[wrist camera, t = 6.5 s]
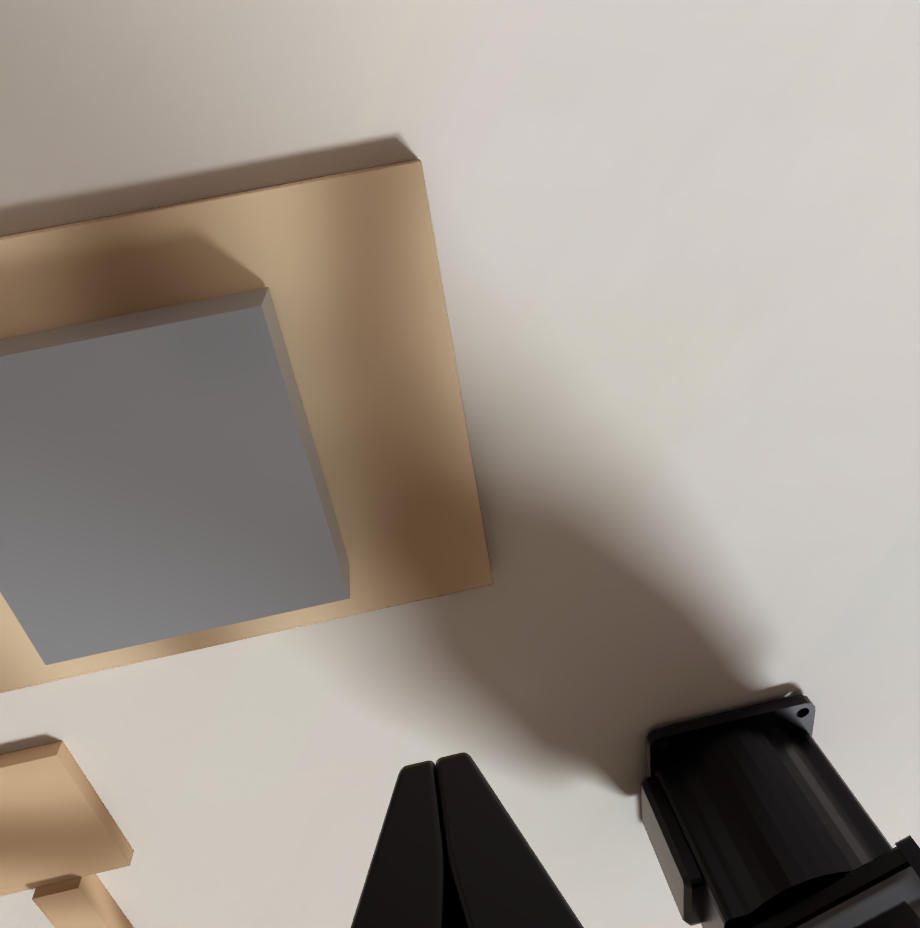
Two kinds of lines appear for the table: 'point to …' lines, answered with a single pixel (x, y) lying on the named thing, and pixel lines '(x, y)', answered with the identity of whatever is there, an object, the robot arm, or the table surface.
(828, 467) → the table surface
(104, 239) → the cork mat
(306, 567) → the slate tile
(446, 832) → the robot arm
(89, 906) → the wooden turner
